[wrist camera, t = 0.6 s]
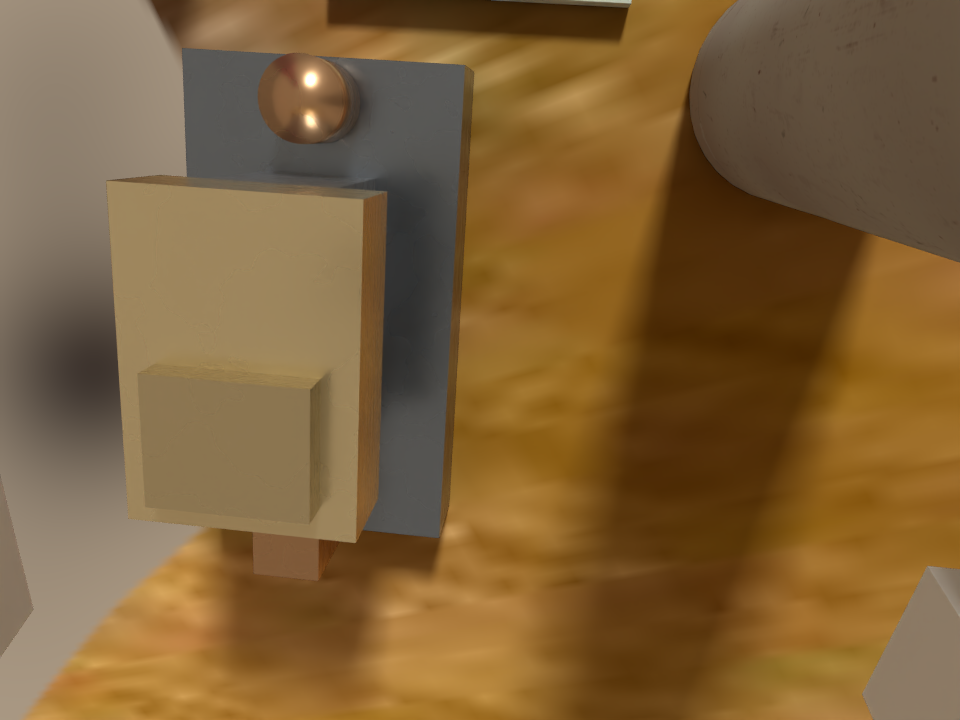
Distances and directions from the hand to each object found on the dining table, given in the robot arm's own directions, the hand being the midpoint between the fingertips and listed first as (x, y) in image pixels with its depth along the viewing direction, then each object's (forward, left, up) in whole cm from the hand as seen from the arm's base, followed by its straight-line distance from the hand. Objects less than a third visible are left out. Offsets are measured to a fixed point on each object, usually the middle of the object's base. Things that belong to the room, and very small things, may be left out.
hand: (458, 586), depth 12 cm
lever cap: (-1, +8, -13) cm, 15 cm away
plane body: (-1, +8, -21) cm, 23 cm away
